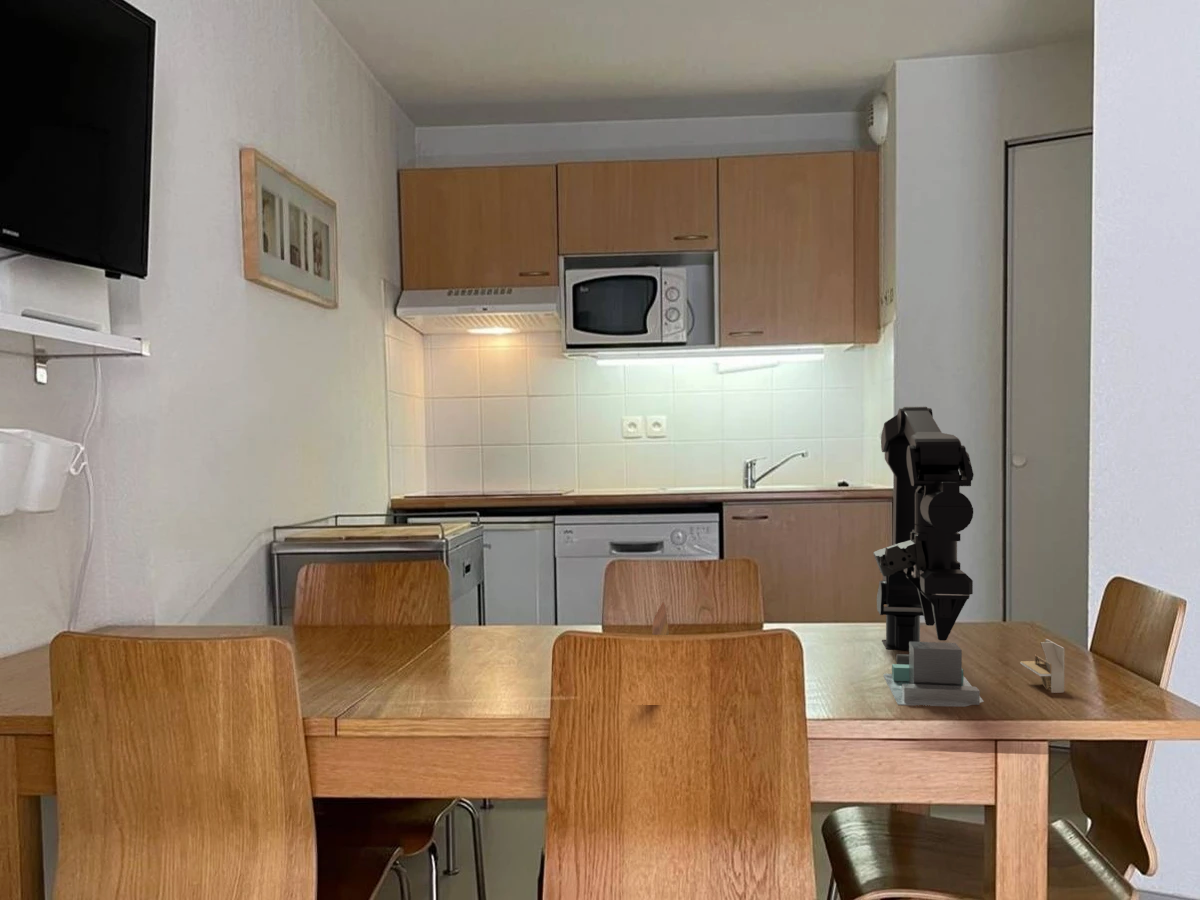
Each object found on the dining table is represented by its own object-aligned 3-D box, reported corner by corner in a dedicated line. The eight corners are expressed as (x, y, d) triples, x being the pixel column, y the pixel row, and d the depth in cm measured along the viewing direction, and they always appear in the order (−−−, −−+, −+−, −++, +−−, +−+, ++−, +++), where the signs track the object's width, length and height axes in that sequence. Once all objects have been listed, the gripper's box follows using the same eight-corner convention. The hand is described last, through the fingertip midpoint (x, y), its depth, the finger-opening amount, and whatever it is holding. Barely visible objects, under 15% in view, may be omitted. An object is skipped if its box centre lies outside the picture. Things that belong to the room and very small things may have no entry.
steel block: (909, 688, 132) (909, 641, 132) (955, 690, 131) (955, 642, 131) (913, 696, 128) (913, 648, 128) (961, 698, 127) (961, 649, 127)
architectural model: (1040, 699, 129) (1040, 648, 129) (1020, 685, 136) (1020, 636, 136) (1065, 699, 129) (1065, 648, 129) (1043, 685, 136) (1043, 636, 136)
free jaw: (886, 666, 144) (886, 652, 144) (952, 668, 142) (952, 654, 142) (893, 680, 136) (893, 666, 136) (963, 683, 134) (963, 668, 134)
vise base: (883, 676, 140) (883, 660, 140) (964, 679, 138) (964, 663, 138) (898, 707, 125) (898, 689, 125) (988, 711, 123) (989, 693, 123)
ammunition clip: (662, 697, 131) (662, 615, 131) (650, 696, 132) (649, 615, 131) (670, 676, 142) (669, 601, 141) (658, 675, 142) (657, 600, 142)
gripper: (869, 517, 139) (869, 617, 140) (886, 532, 121) (886, 646, 121) (945, 518, 137) (944, 619, 138) (973, 533, 119) (973, 649, 119)
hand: (935, 632), depth 129 cm, fingers open, 9 cm apart
